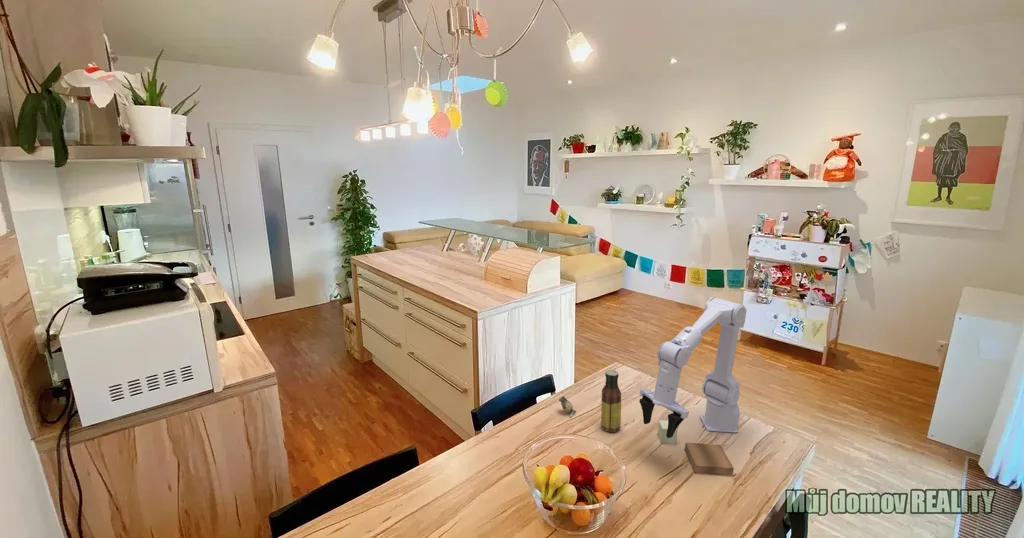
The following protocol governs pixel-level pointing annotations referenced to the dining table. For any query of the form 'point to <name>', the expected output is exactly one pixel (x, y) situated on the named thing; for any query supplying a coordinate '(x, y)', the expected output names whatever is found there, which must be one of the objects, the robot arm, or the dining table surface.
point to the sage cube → (663, 431)
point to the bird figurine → (567, 406)
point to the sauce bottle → (611, 403)
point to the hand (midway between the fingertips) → (657, 429)
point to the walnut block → (708, 459)
